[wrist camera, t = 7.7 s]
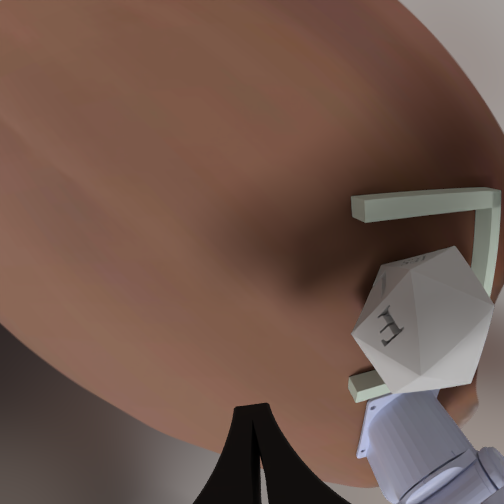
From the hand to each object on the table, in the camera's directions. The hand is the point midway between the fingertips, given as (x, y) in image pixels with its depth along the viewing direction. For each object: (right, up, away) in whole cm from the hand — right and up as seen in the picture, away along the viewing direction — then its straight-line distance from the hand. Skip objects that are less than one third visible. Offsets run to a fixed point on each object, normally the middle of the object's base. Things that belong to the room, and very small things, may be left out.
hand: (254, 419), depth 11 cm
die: (+10, +4, +8) cm, 13 cm away
